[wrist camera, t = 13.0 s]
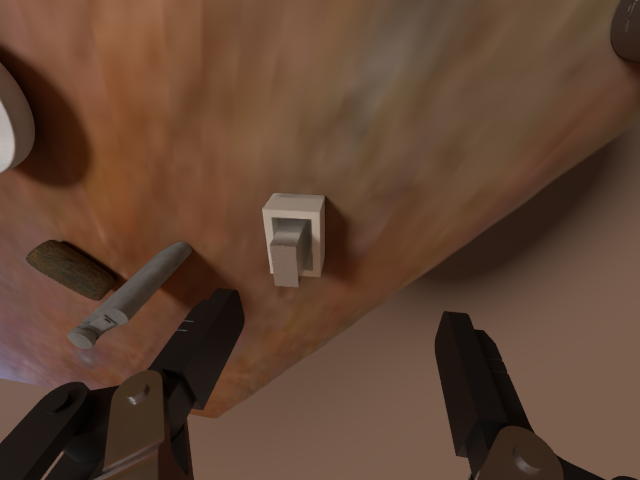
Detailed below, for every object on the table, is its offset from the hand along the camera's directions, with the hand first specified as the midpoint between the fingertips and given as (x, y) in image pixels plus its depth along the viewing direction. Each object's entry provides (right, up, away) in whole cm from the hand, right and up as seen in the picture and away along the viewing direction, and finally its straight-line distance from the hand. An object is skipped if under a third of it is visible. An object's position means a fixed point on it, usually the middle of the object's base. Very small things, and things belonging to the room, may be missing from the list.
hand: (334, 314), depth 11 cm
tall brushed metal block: (-4, +4, +35) cm, 36 cm away
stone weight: (-51, -2, +49) cm, 71 cm away
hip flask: (-33, -1, +46) cm, 56 cm away
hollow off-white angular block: (-4, +5, +37) cm, 37 cm away
